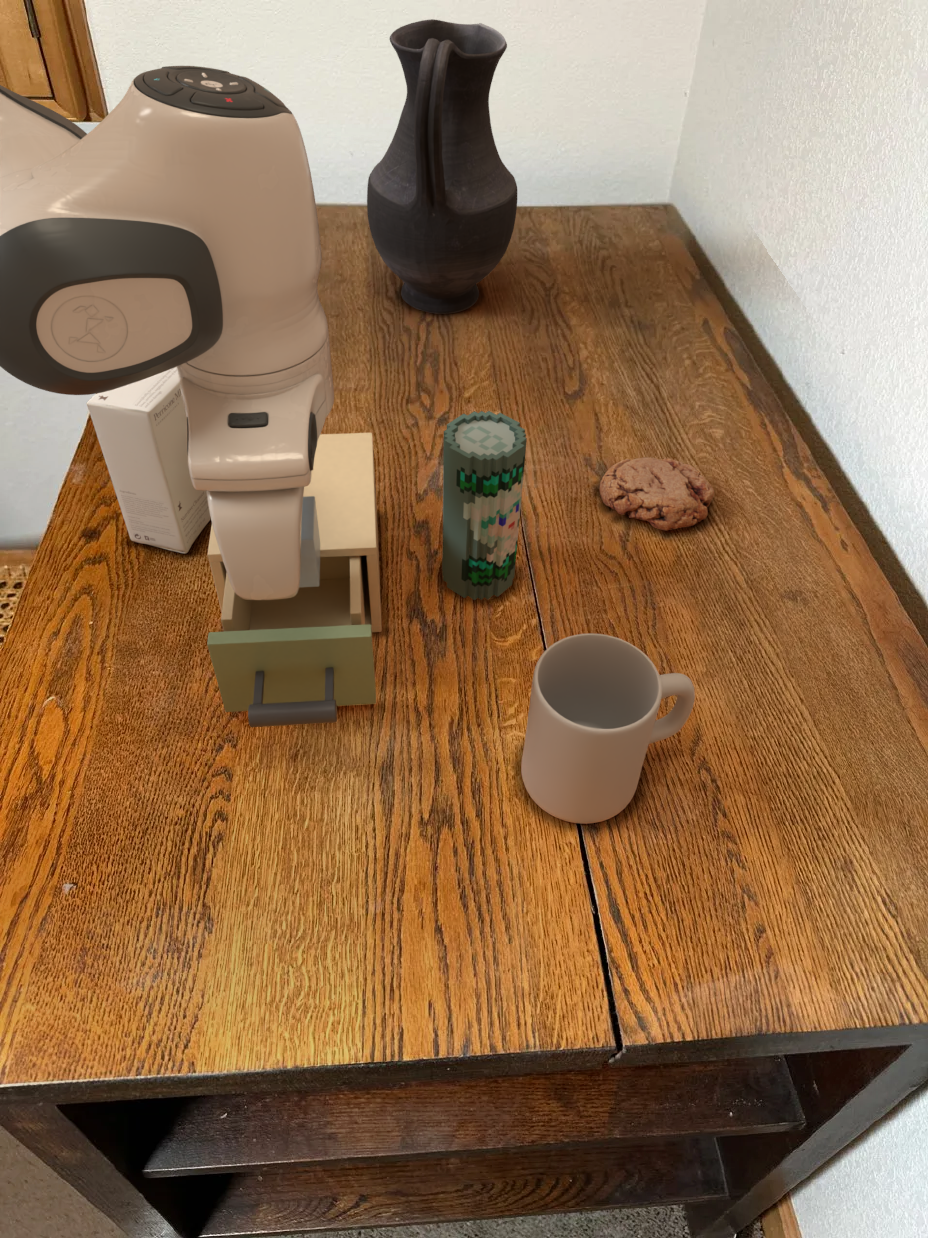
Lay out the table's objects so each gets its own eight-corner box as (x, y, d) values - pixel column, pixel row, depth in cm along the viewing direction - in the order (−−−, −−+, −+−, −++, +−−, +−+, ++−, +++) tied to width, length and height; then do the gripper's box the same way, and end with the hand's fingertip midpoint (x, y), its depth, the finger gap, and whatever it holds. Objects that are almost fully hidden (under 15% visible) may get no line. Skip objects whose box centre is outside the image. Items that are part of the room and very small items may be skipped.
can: (482, 609, 80) (490, 469, 69) (429, 576, 82) (429, 436, 71) (526, 572, 83) (540, 433, 72) (474, 541, 85) (480, 402, 74)
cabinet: (381, 632, 78) (376, 547, 70) (228, 639, 77) (207, 554, 70) (377, 516, 87) (372, 432, 80) (241, 522, 86) (224, 437, 79)
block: (254, 590, 65) (244, 542, 61) (258, 546, 68) (249, 498, 64) (319, 587, 65) (313, 539, 62) (320, 543, 68) (314, 495, 65)
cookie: (593, 468, 93) (597, 443, 91) (698, 468, 93) (705, 444, 91) (606, 535, 86) (610, 510, 84) (719, 535, 87) (726, 510, 85)
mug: (543, 838, 65) (559, 746, 57) (505, 741, 70) (514, 645, 62) (699, 797, 67) (736, 704, 59) (650, 707, 73) (678, 610, 65)
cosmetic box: (187, 556, 83) (149, 416, 72) (126, 542, 84) (80, 402, 73) (229, 498, 89) (200, 360, 78) (171, 486, 90) (135, 348, 79)
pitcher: (515, 267, 121) (533, -2, 99) (503, 352, 107) (521, 61, 85) (383, 257, 122) (373, -11, 100) (354, 341, 108) (334, 50, 86)
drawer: (378, 754, 68) (372, 687, 62) (219, 763, 67) (199, 696, 62) (372, 580, 80) (367, 510, 75) (238, 586, 80) (223, 516, 74)
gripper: (218, 292, 62) (248, 459, 72) (183, 488, 48) (226, 661, 58) (314, 290, 62) (331, 457, 72) (307, 483, 49) (328, 656, 59)
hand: (284, 549), depth 65 cm, fingers closed on block, 4 cm apart
